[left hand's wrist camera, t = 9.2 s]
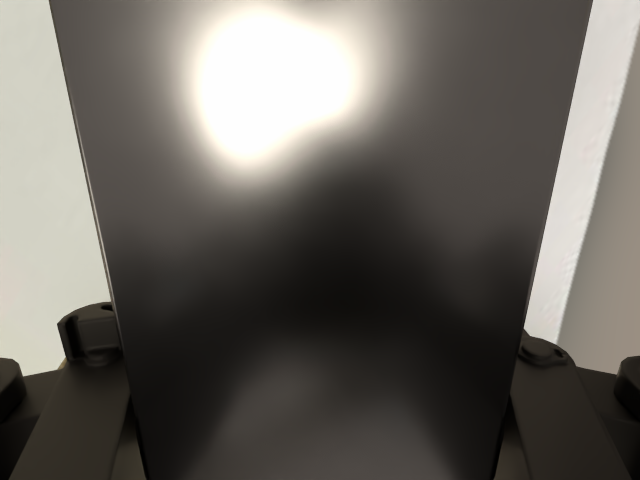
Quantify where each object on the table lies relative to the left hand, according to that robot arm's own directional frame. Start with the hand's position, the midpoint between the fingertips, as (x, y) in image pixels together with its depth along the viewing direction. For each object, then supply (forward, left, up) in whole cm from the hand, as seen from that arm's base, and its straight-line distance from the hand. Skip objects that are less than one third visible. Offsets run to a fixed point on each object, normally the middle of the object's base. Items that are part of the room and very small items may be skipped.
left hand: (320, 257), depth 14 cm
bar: (+9, 0, -1) cm, 9 cm away
